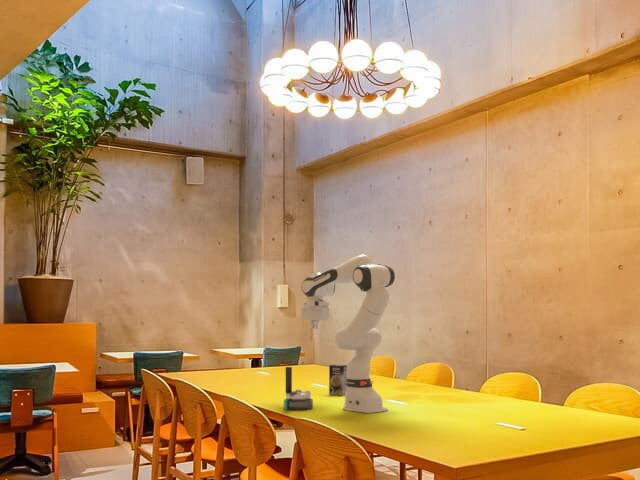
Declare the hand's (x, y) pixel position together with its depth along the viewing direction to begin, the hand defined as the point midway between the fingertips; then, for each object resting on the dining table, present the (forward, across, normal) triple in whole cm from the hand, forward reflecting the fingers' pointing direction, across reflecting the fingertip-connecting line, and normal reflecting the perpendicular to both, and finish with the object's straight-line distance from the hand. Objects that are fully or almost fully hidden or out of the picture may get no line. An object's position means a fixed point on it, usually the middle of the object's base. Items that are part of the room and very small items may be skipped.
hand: (314, 328), depth 353 cm
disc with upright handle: (+33, +17, -24) cm, 44 cm away
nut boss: (+37, +17, -23) cm, 47 cm away
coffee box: (+37, -7, +22) cm, 44 cm away
